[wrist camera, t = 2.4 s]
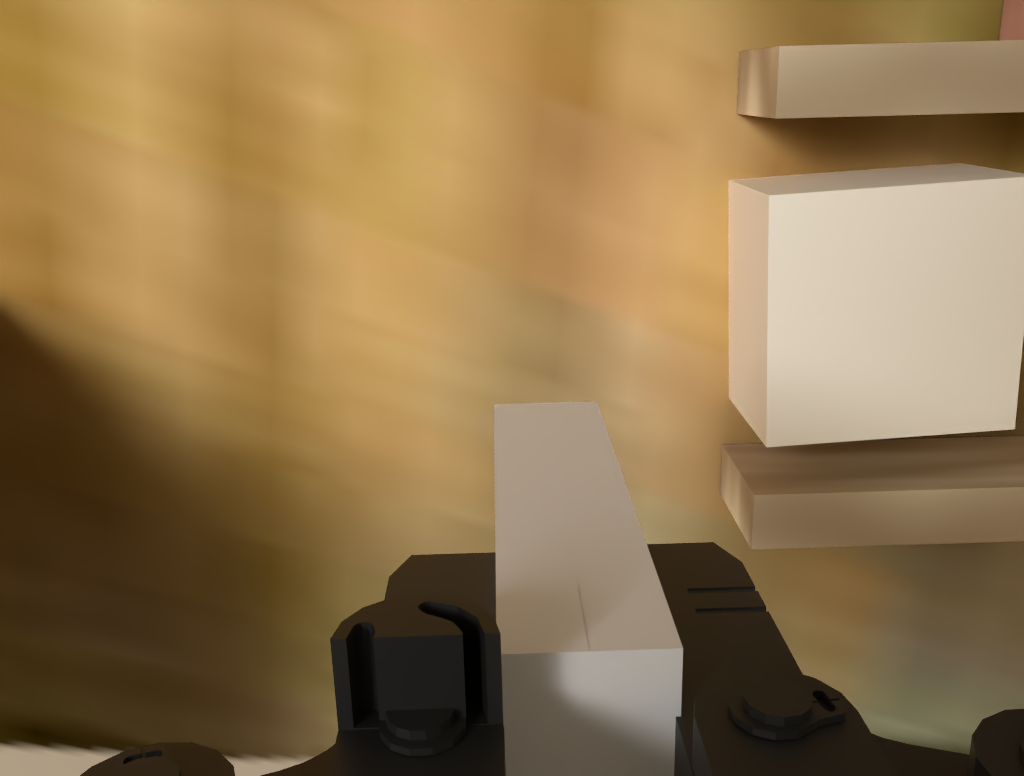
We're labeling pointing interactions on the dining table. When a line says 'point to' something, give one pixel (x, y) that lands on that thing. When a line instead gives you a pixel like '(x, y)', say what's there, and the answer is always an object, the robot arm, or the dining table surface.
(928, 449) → the trap lane box
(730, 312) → the cream block
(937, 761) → the robot arm
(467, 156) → the dining table surface
